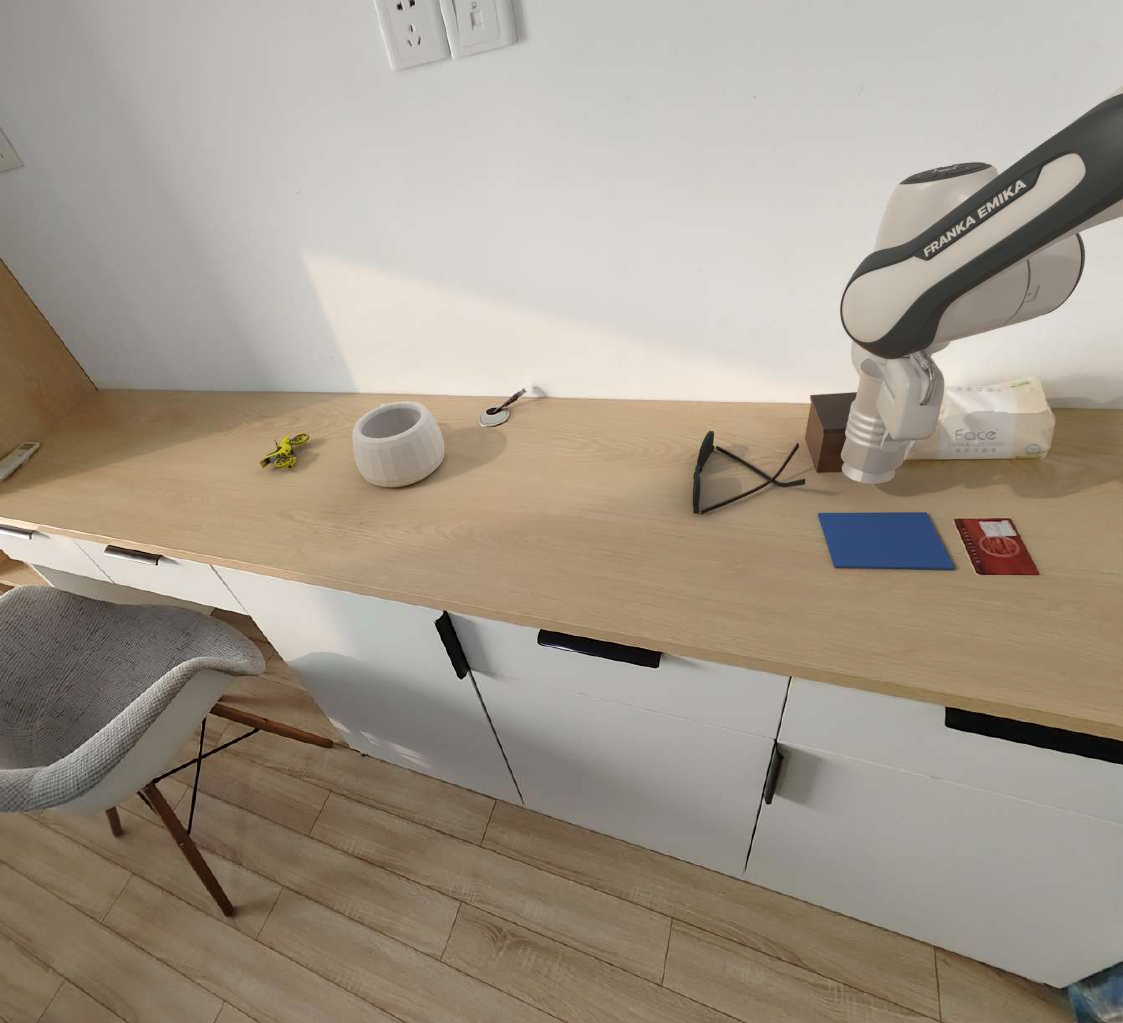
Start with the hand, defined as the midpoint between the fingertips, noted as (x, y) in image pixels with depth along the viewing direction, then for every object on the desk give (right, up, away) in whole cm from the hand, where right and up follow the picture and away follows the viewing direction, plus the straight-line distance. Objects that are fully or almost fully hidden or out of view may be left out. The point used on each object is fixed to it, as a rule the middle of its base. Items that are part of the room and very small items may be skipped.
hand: (878, 430), depth 76 cm
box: (+5, -2, +13) cm, 14 cm away
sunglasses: (-10, -6, +13) cm, 18 cm away
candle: (+1, -5, +4) cm, 6 cm away
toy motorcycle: (-87, +1, +49) cm, 100 cm away
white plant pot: (-63, -1, +39) cm, 74 cm away
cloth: (0, -14, -1) cm, 14 cm away
